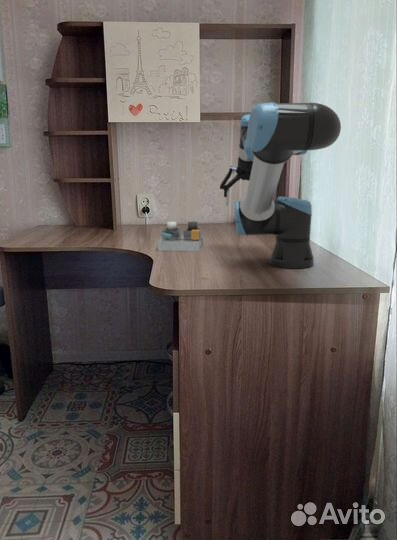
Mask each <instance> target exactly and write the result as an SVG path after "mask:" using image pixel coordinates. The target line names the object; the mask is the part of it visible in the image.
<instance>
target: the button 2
mask: <svg viewBox="0 0 397 540" xmlns="http://www.w3.org/2000/svg"><path fill="white" fill-rule="evenodd" d="M187 228H188V230H197V228H198V221H188V222H187Z"/></svg>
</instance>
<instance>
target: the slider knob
mask: <svg viewBox="0 0 397 540" xmlns="http://www.w3.org/2000/svg"><path fill="white" fill-rule="evenodd" d="M191 239H194V240H199V230H192V231H191Z"/></svg>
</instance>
